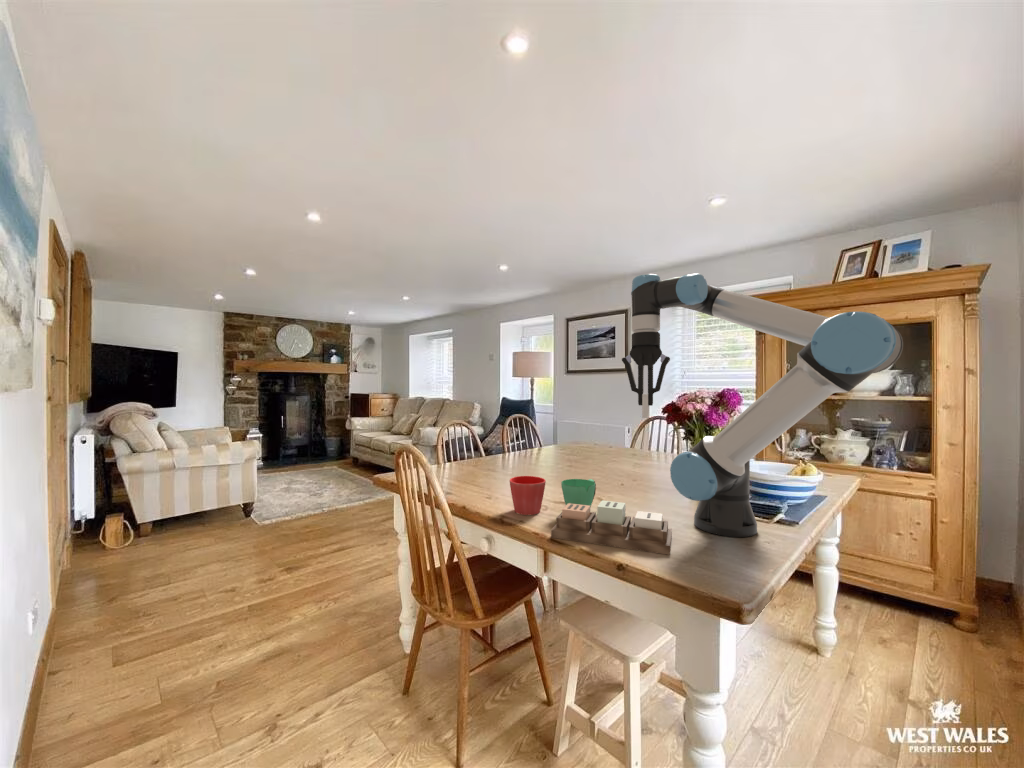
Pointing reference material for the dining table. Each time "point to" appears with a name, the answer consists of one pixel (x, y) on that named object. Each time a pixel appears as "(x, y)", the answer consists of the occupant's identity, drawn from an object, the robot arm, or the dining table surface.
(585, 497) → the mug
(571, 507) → the tile
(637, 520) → the tile
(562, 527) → the tile rack
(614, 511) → the tile
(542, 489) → the flower pot
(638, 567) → the dining table surface
